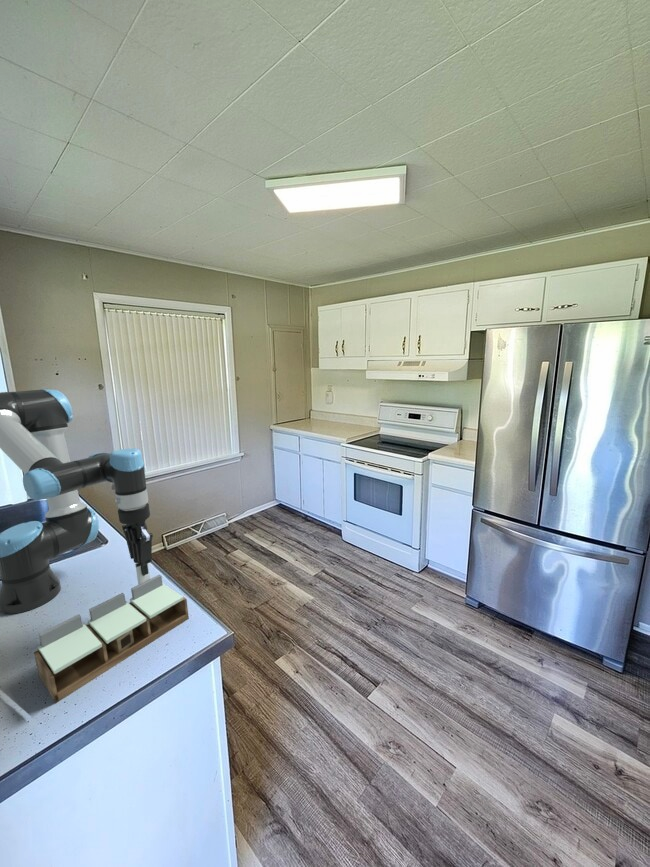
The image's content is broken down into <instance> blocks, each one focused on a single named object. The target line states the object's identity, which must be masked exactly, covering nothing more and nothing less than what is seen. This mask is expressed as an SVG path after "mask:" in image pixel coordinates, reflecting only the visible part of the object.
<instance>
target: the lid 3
mask: <svg viewBox="0 0 650 867" xmlns="http://www.w3.org/2000/svg"><path fill="white" fill-rule="evenodd" d="M172 589H173V588H171V587H169V586H168V585H167V584H165V583H164V582H163V576H162V575H161V574H157V575H155V576H153V577H152V578H151V577H150V579H149V580H147V581H145V582H143V583H141V584H139V585H138V584H137V585H136V586H133V587H131V589H130V590H131V591H130V592H131V598H130V599H129V603H130V602H131V603H132V604H134V605H135V606H136V607H137V608H138V609H140V610H141V611H142V612H143V613H144V614H145V615H147V616H148V617H149V618H150V619H151V618H152V617H154V616H156V615H157V614H159V613H161V612H163V611H164V610H166V609H168V608H170V607H171V606H173V605H175V604H176V603H178V602H180V601H182V600H183V597H184V596H183V595H182V594H180V593H178V592H177V591H176V592H175V590H174V589H173V590H172Z"/></svg>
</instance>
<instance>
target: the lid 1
mask: <svg viewBox="0 0 650 867" xmlns="http://www.w3.org/2000/svg"><path fill="white" fill-rule="evenodd" d="M86 625H87V624H85V623H84V622H83V621H82V616H81V615H80V613H78V614H76V615H74V616H73V617H70V618H68V619H66V620H64V621H62V622H61V623H58V624H56V625H54V626H51V627H50V628H48V629H46V630H44V631H41V632H40V633H39V634H38V636H39V641H40V645H38V646H37V649H38V650H39V651H40V653H41V654H42V656H43V657H44V659H45V660H46V662H47V664H48V665H49V667H50V668H51V670H52V671H53V673H54V674H56V673H58V672H59V671H61V670H63V669H65V668H66V667H68V666H70V665H71V664H73V663H75V662H77V661H78V660H80V659H82V658H83V657H85V656H87V655H89V654H90V653H92V652H94V651H95V650H97V649H99V648H101V647H102V643H101V642H100V641H99V640H98V639H97V638H96V636H95V635H94V634H93V633H92V632H91V631H90V630H89V629H88V628H87V626H86ZM38 650H37V651H38Z"/></svg>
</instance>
